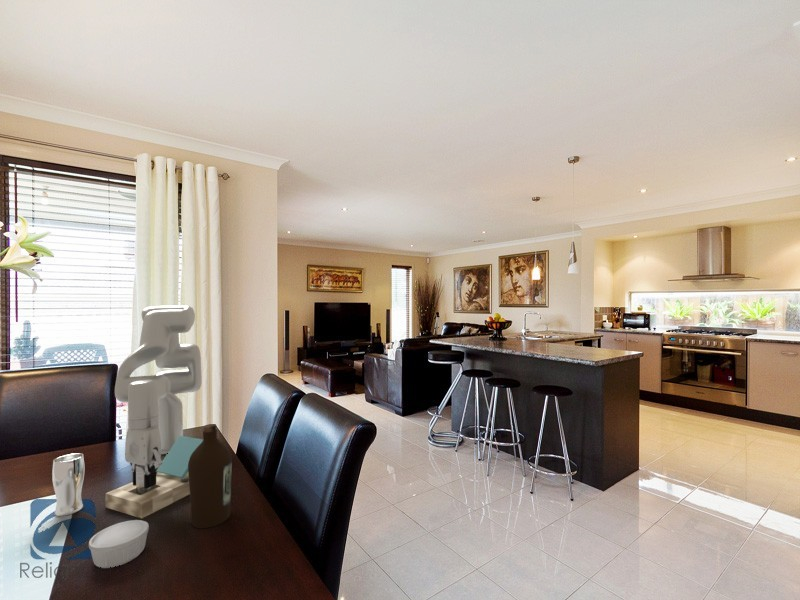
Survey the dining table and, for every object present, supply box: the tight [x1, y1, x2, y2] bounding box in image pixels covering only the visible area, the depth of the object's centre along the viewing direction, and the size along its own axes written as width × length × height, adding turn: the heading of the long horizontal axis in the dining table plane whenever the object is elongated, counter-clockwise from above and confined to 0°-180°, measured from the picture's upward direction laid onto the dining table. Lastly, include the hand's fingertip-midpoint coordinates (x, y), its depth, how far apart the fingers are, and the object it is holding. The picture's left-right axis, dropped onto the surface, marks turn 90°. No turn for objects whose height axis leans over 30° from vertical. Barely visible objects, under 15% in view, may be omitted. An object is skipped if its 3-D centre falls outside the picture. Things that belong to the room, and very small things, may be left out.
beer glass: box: [51, 452, 86, 517], centre depth 110 cm, size 7×7×15 cm
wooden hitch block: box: [105, 471, 190, 519], centre depth 118 cm, size 16×22×5 cm
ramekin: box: [88, 519, 150, 569], centre depth 89 cm, size 11×11×5 cm
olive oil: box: [188, 423, 233, 529], centre depth 104 cm, size 11×11×25 cm
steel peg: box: [136, 464, 153, 495], centre depth 113 cm, size 4×4×10 cm
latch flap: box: [157, 435, 203, 478], centre depth 124 cm, size 12×12×1 cm
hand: (144, 484), depth 113 cm, fingers open, 4 cm apart
